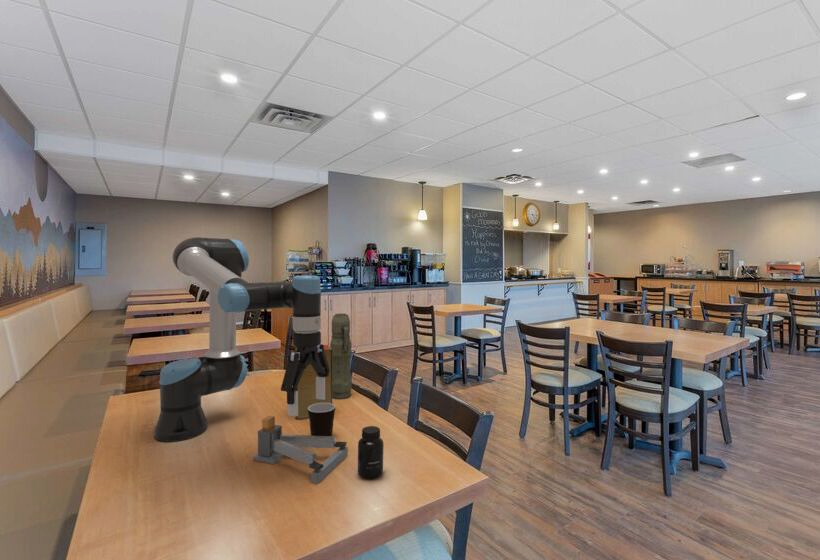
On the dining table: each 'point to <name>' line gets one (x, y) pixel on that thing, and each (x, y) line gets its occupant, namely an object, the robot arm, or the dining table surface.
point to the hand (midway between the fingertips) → (307, 406)
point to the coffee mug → (321, 419)
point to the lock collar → (268, 435)
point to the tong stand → (315, 475)
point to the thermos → (341, 357)
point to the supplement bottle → (370, 453)
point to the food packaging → (313, 386)
